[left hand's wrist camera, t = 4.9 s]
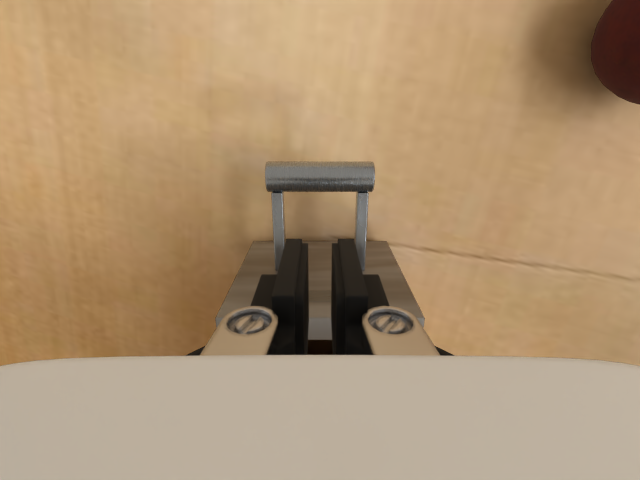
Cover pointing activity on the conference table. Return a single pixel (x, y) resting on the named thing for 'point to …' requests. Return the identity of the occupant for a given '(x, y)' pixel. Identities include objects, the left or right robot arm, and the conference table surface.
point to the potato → (619, 49)
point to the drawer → (320, 246)
